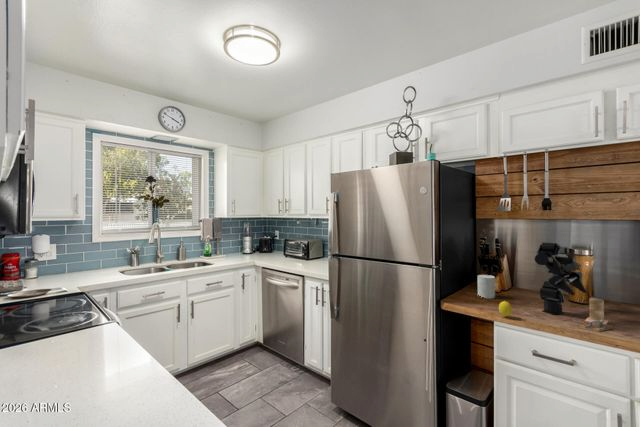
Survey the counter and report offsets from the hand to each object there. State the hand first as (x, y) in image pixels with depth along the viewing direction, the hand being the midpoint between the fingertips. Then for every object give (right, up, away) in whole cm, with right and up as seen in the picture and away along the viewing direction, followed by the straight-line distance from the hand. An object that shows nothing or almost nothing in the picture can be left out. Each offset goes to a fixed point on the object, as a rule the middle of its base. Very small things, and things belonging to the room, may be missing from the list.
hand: (580, 293), depth 139 cm
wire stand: (+2, -13, -6) cm, 15 cm away
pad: (+9, -13, +1) cm, 16 cm away
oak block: (+9, -13, +1) cm, 16 cm away
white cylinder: (-18, -14, +45) cm, 51 cm away
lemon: (-29, -14, +9) cm, 34 cm away
